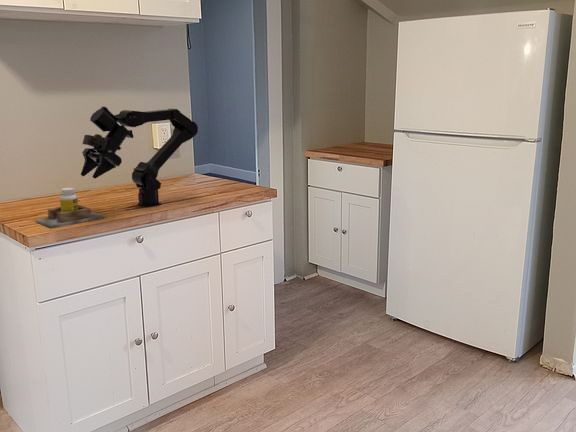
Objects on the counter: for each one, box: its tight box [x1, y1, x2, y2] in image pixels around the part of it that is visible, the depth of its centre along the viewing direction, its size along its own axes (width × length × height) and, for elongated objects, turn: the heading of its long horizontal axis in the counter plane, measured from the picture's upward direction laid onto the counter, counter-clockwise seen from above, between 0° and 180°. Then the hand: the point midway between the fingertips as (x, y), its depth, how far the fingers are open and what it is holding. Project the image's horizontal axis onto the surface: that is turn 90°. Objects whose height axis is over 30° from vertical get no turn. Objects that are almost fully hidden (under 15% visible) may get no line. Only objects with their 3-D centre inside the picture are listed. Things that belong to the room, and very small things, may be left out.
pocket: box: [34, 204, 105, 229], centre depth 186 cm, size 18×12×4 cm, turn 136°
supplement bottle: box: [59, 187, 79, 212], centre depth 185 cm, size 5×5×10 cm
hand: (87, 176), depth 189 cm, fingers open, 9 cm apart
